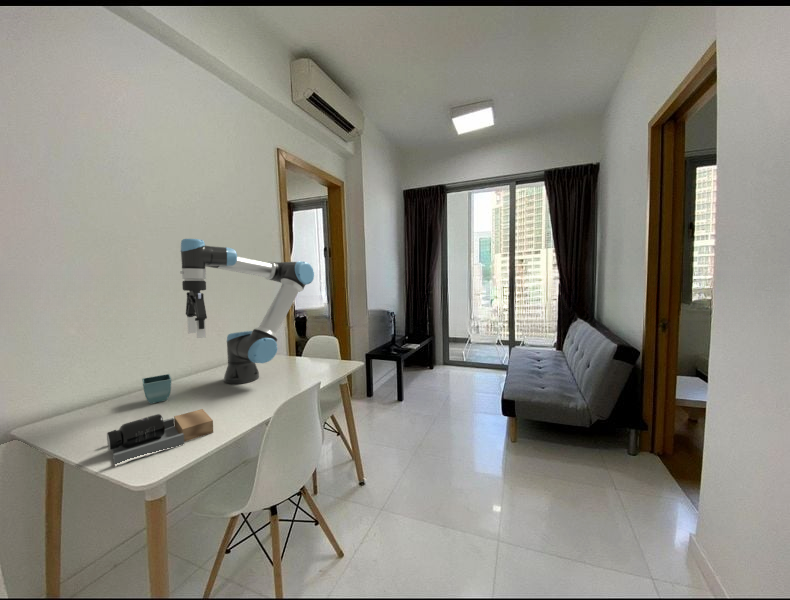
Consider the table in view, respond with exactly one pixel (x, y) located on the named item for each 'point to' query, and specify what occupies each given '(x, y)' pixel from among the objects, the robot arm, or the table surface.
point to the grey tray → (151, 444)
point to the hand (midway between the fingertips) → (196, 335)
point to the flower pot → (157, 388)
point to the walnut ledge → (193, 424)
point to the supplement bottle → (136, 432)
